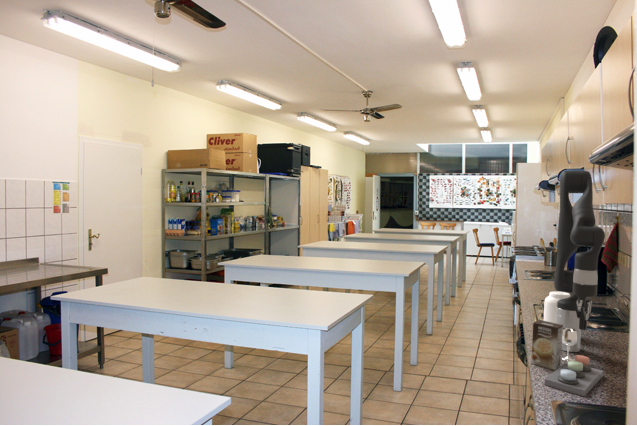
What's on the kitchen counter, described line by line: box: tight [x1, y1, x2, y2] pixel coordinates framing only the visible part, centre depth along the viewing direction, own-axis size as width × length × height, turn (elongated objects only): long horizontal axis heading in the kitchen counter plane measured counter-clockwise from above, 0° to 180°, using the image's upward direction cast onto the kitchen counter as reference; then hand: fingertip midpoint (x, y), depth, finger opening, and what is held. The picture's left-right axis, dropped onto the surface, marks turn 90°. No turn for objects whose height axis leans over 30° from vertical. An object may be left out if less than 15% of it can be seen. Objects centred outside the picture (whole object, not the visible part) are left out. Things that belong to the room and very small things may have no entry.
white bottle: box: [543, 290, 571, 323], centre depth 209 cm, size 12×12×20 cm
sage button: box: [567, 361, 583, 371], centre depth 157 cm, size 5×5×2 cm
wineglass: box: [561, 328, 577, 362], centre depth 177 cm, size 6×6×12 cm
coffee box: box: [530, 319, 563, 371], centre depth 171 cm, size 9×6×16 cm
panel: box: [544, 361, 604, 397], centre depth 157 cm, size 24×12×3 cm, turn 135°
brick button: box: [573, 354, 590, 366], centre depth 163 cm, size 5×5×2 cm
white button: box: [560, 369, 576, 381], centre depth 151 cm, size 5×5×2 cm
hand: (582, 329), depth 162 cm, fingers closed
